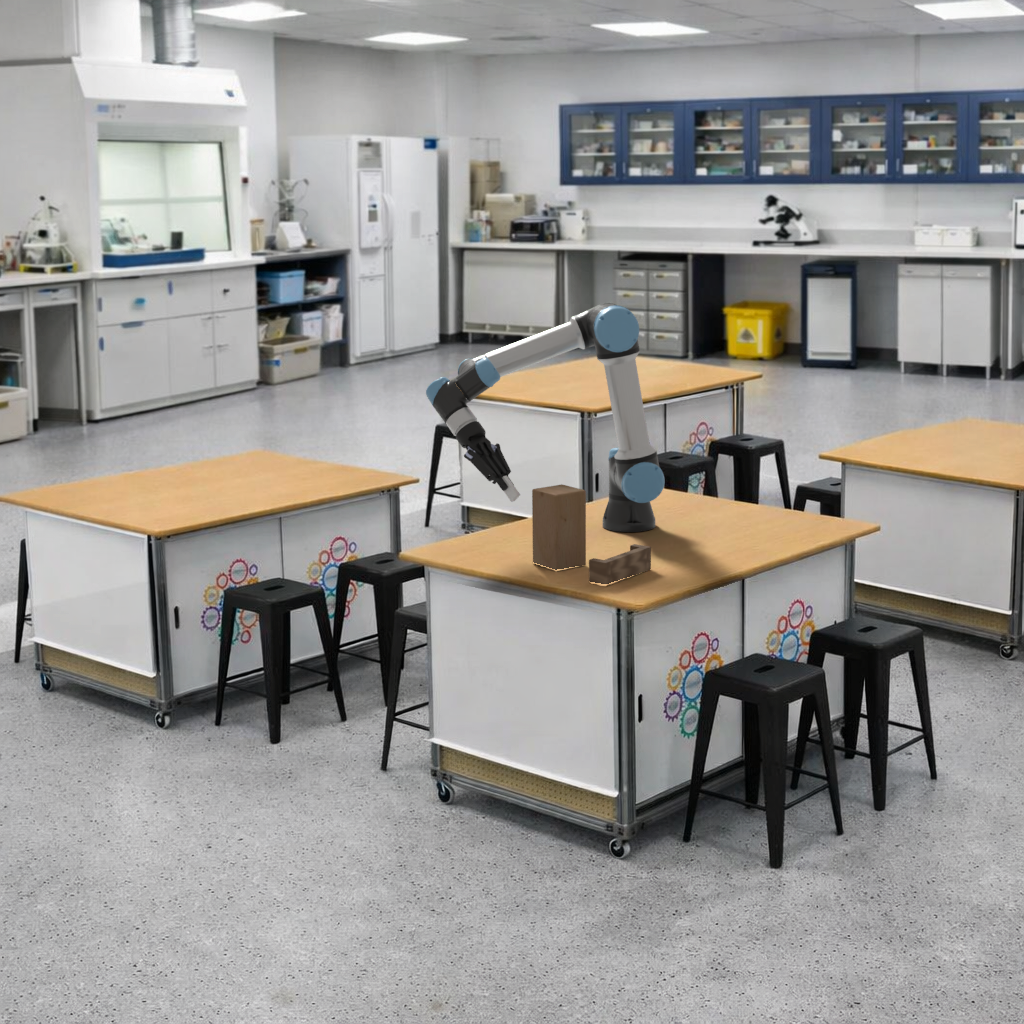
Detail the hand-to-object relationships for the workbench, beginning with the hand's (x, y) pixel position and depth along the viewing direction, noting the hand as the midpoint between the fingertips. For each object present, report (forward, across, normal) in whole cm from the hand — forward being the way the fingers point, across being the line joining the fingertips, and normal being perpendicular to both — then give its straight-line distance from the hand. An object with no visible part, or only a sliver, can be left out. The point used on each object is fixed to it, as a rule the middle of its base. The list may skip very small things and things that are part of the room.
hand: (515, 498), depth 376 cm
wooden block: (+21, 0, -2) cm, 21 cm away
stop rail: (+34, -1, +12) cm, 36 cm away
